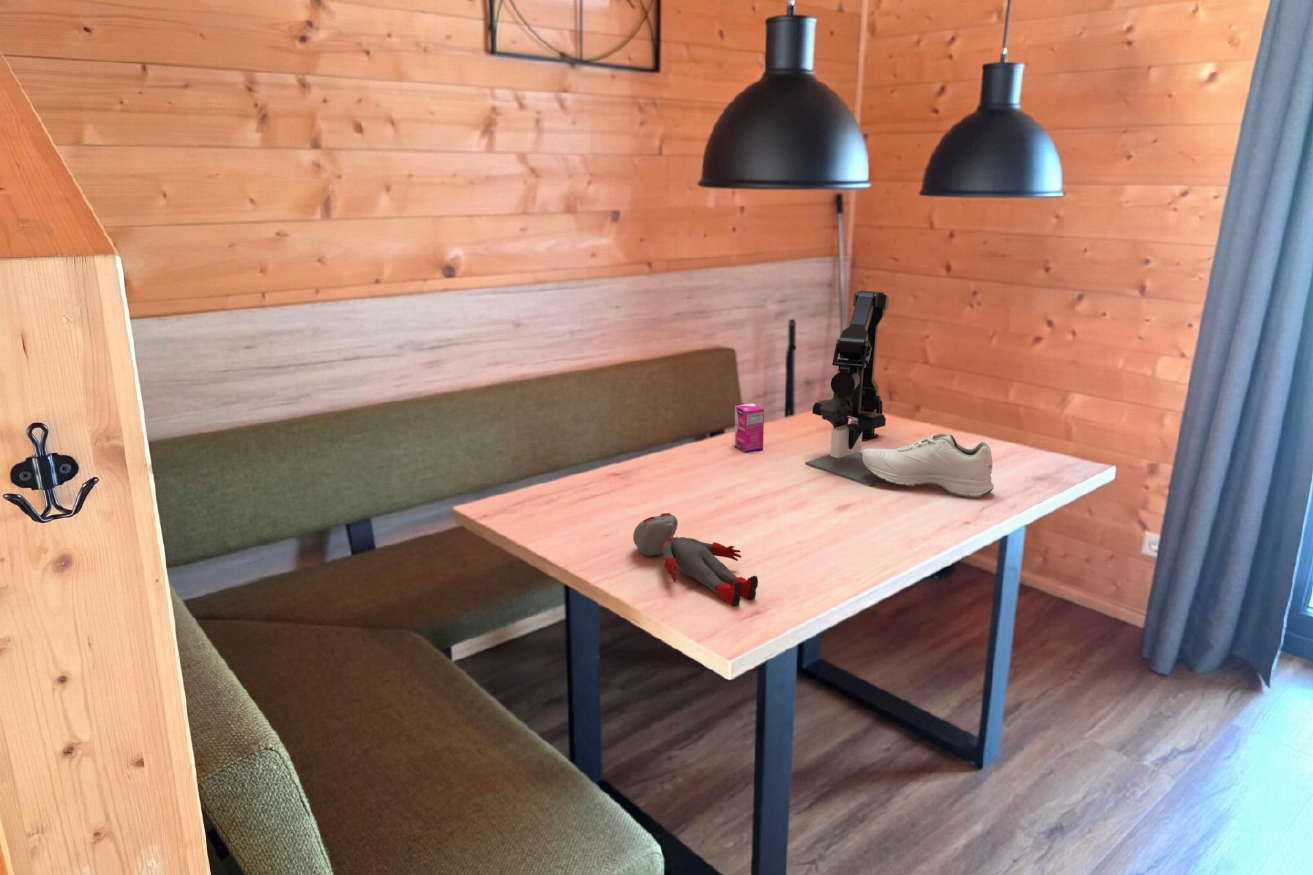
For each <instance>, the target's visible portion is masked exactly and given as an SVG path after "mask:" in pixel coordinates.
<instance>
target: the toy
mask: <svg viewBox="0 0 1313 875" xmlns="http://www.w3.org/2000/svg"><path fill="white" fill-rule="evenodd" d="M678 524H679V523H678V518H677V517H676V516H675V515H674V514H671V513H670V512H668V513H664V512H663V513H661V514H660V515H656V516H651V517H648V518H645V519H644V520H641V521H640V522H639V523H638V524H637V525H636V527H635V528H634V531H633V536H632V538H633V543H634V545H635V547H636V548H637V549H638V550H639V551H640V552H641V553H642V554H643V555H644V556H646V557H652V556H657V555H658V556H659V555H663V557H664V568H665V570H666V571H667V573H669V575H670V576H671V579H672V581H673V583H674V584H676V583H677V581H678V579H677V574H678V573H677V570H676V569H677V568H679V570H680V571H681V572H682V573H683V574H684V575H686V576H687V575H688V576H691V577H692V578H694V579H695V580H696V581H697V582H699V583H701V584H703V585H704V586H706V587H708V588H709V589H710V590H712V591H713V592H714V593H715V595H717V596H718V597H720V598H721V599H722V600H723V601H725V602H727V603H728V604H730V605H731V607H733V608H734V607H737V606H740V602H741V596H743V597H744V598H746V599H747V600H748V601H753V600H755V599H756V595H757V591H756V590H757V588H758V587H759V586H758V585H759V581H758V580H759V578H758V575H752V576H750V577H748V578H744V577H742V576H737V575H736V574H734V573H733V572H732V571H731V570H730V569H729V568H728V567H727V566H726V565H725V564H724V563H723V562H722V561H720V560H719V558H718V557H722V558H728V559H731V560H733V561H736V562H738V561H739V560H738V558H740V559H741V558H742V555H741V554H739V553H741V550H739V549H734V548H735V545H729V546H727V547H726V546H725V545H723V544H721V543H720V542H719V543H718V542H715V541H714V542H712V543H709V542H703V541H701V540H699V539H695V538H692V537H685V536H684V537H683V536H680V537H678V536H675V535H676V531H677V529H678ZM674 536H675V537H674Z"/></svg>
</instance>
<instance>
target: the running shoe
mask: <svg viewBox="0 0 1313 875" xmlns="http://www.w3.org/2000/svg"><path fill="white" fill-rule="evenodd" d="M861 462H862V464H863V465H864V466H865V467H866V469H867V470H868V471H870V473H871V474H873V475H874V476H876V475H877V478H879V479H881V480H885V481H884V482H885V483H889V484H892V485H893V484H894V486H901V487H902V486H905V487H915V486H921V485H929V484H930V485H935V486H939V487H942V488H943V489H944V490H946V492H948V493H950V494H952V495H955V494H956V495H957V496H962V497H969V498H972V499H973V498H979V497H980V498H981V497H983V496H986V495H988V494H990V493H991V492H993V490H994V486H995V485H994V484H993V482H992V472H993V454H992V450H991V448H990V446H989V445H988V444H987V442H985V441H981V442H979V443H978V444H977V445H976V446H975V447H974V448H972V449H970V448H966V447H965V446H962V445H961V444H959V443H958V442H957V440H956V439H955V437H954V435H952V434H946V433H937V434H934V433H933V434H931V435H930V436H929V437H925V438H922V439H920V440H917V441H915V442H913V443H912V444H910V445H904V446H903V447H897V448H893V449H892V448H872V447H868V448H864V449H863V451H862V455H861Z"/></svg>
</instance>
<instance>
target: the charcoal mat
mask: <svg viewBox="0 0 1313 875" xmlns="http://www.w3.org/2000/svg"><path fill="white" fill-rule="evenodd" d="M862 453H863V451H859V452H856V453H852V454H849V455H846V456H843V457H840V458H836V457H833V456H830V454H827V455H824V456H821V457H818V458H815V459H814V458H813V459H811V460H808V461H805V462H804V464H805V465H806V466H808V467H812V468H815V469H817V470H821V471H824V472H826V473H830V474H833V475H834V476H835V475H836V476H838V477H842V478H844V479H848V480H850V481H854V482H856V483H859V484H862V485H866V486H867V487H872V486H874V485H877V484H880V483H882V482H885V480H881V479H879V478H877V475H876V476H874V475H873V474H871V473H870V471H868V470H867V469H866V467H865V466H864V465H863V464H862V462H861V455H862Z"/></svg>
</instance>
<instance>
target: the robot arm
mask: <svg viewBox="0 0 1313 875" xmlns="http://www.w3.org/2000/svg"><path fill="white" fill-rule="evenodd" d="M889 298H890V297H889V296H888V295H887V294H885V292H884V291H873V290H860V291H857V292H854V294H853V302H852V308H853V312H852V315H851V320H850V322H849V325H848V327H847V328H845V329H843V330H842V332H841V334H840V336H839V338H838V339H837V340H836V343H835V348H834V352H833V358H832V364H831V365H832V366H835V367H838V368H837V369H838V370H837V372H836V373H835V374H834V375H833V376H832V378H831V380H830V388H831V391H832V392H833V397H831V398H830V399H825V400H819V401H817V402H815V403H814V404H813V406H812V414H813V415H816V416H820V417H821V419H823V420H825V421H827V422H829V423H830V424H831V425H832V427H833V428H836V427H839V426H843V425H847V427H848V428H849V443H848V444H849V449H852V448H853V447H854V445H855V443H856V441H857V440H858V438H859V436H860V434H861V433H862V441H867V440H868V441H869V440H870V439H873V438H878V437H879V436H880V434H879V433H877V432H875V430H876V429H879V428H882V427H886V420H887V418H886V416H885V415H884V414H883V409H884V408H883V407H884V406H883V400H882V399H881V395H880V387H879V386H878V384H877V382H876V380H875V367H876V357H877V344H878V331H879V325H880V323H881V322H882V320H883V319H884V317H885V316H886V311H887V310H888V309H889V302H890V299H889ZM850 420H851V421H850ZM849 421H850V423H851V424H850V423H849Z"/></svg>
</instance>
